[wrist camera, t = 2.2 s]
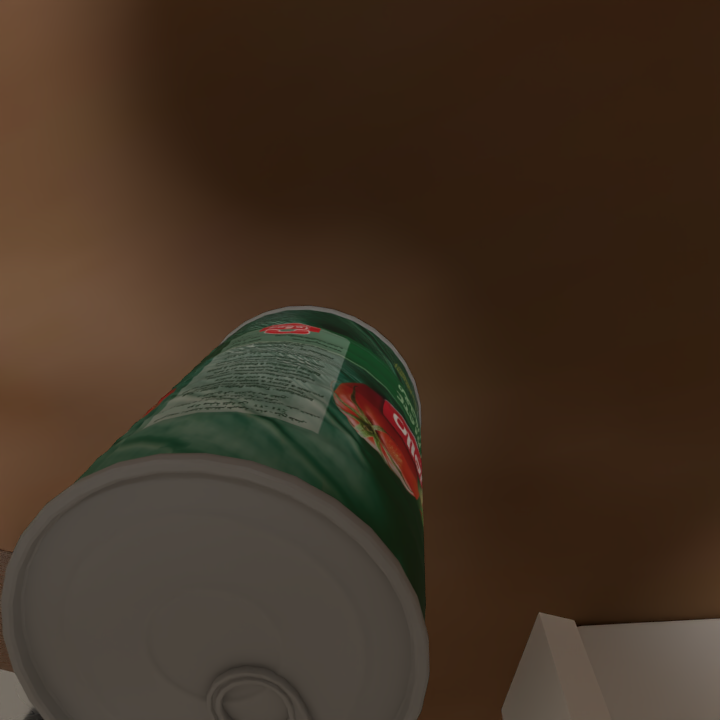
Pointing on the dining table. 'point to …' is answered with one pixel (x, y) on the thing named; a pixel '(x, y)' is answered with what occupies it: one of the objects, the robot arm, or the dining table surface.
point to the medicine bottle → (657, 668)
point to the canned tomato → (239, 544)
